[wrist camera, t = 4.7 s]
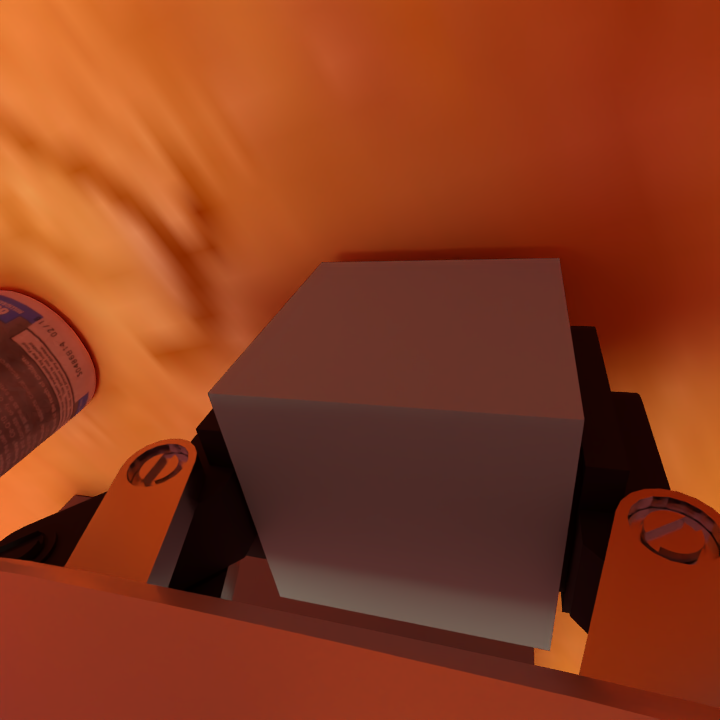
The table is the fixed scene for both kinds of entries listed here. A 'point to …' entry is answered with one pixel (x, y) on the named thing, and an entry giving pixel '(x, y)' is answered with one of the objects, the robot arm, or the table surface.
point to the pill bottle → (37, 375)
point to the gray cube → (414, 442)
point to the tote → (354, 613)
